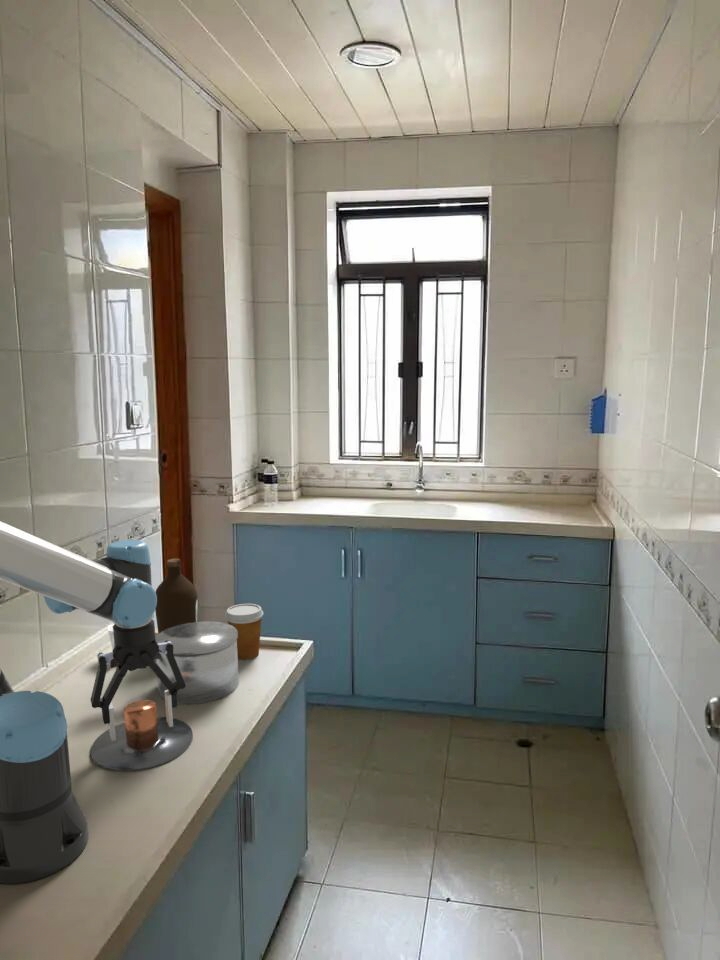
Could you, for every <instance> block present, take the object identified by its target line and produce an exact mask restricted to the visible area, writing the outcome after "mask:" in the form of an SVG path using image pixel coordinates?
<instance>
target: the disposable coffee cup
mask: <svg viewBox="0 0 720 960" xmlns="http://www.w3.org/2000/svg"><path fill="white" fill-rule="evenodd" d="M224 616H225V619H226V621H227V624H229V625H231V626H233V627H235V628H236V629H237V632H238V638H237V655H238V660H250V659H253V658H256V657H257V656H259V654H260V643H261V642H260V641H261V640H260V639H261V631H262V630H261V629H262V618H263V616H264V611H263V609H262V607H261V605H258V604H255V603H241V604H239V603H238V604H236V605H232V606H230V607H228V608H227V610H226V612H225V615H224Z"/></svg>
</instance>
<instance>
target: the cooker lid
mask: <svg viewBox="0 0 720 960" xmlns="http://www.w3.org/2000/svg"><path fill="white" fill-rule="evenodd" d="M123 714H124V715H123V716H124V722H123V723H122V722H121V723H120V724H117V725H115V733H116V740H114V741H112V740H111V736H110V728H109V729H107V730H105V731H104V732H102V733H101V734H100V735H99V736H98V737H97V738H96V739H95V740H94V741H93V742H92V745H91V746H90V747H91V748H90V755H91V759H92V761H93V762H94V763H95V764H96V765H98V766H99V767H101V768H104V769H105V770H109V771H116V772H137V771H142V770H148V769H152V768H155V767H159V766H161V765H164V764H167V763H169V762H171V761H174V760H175V759H176V758H178V757H180V756H181V755H182V754H184V753H185V752H186V751H187V750H188V749H189V747H190V746H191V745H192V742H193V738H194V737H193V730H192V728H191V726H190V725H189V724H188V723H186V722H184V721H183V720H181V719H178V718H173V727H169V725H168V723H167V719H166V716H158V711H157V702H155V701H154V700H150V699H139V700H135V701H132V702H129V703H128V704H126V705H125V706H124V708H123Z"/></svg>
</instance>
